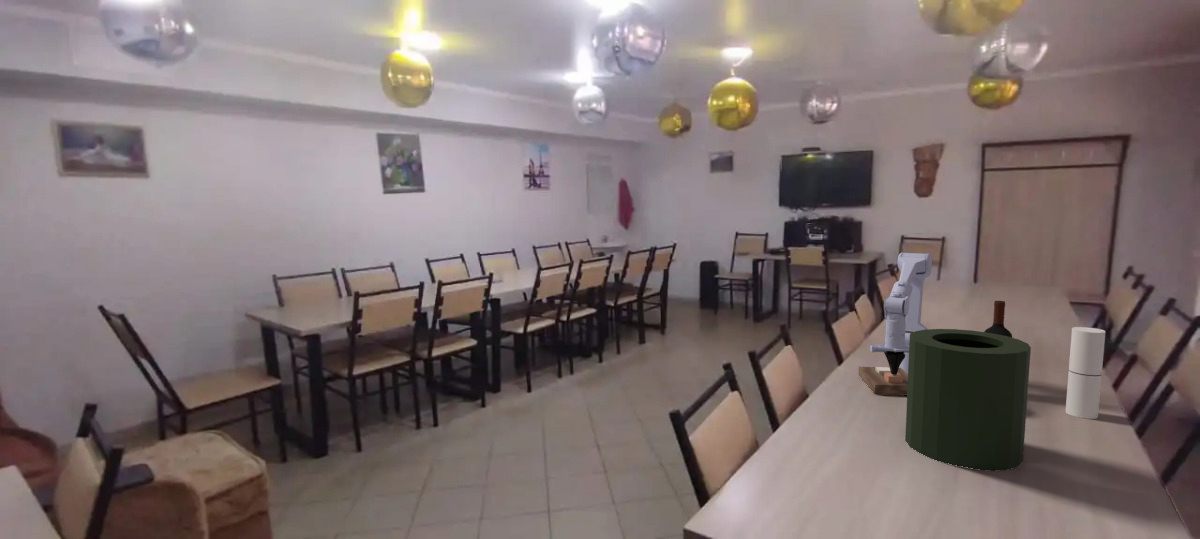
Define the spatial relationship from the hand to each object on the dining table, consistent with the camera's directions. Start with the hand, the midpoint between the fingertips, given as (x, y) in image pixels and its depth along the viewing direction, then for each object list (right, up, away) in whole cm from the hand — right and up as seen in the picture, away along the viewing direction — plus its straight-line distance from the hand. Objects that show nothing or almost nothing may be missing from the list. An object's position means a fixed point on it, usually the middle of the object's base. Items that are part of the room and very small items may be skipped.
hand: (893, 373), depth 183 cm
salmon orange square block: (0, -4, 0) cm, 3 cm away
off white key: (+2, -3, +10) cm, 11 cm away
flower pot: (-5, -11, -42) cm, 44 cm away
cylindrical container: (+42, -8, -23) cm, 49 cm away
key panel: (+1, -5, +6) cm, 8 cm away
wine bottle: (+31, -6, -3) cm, 32 cm away
